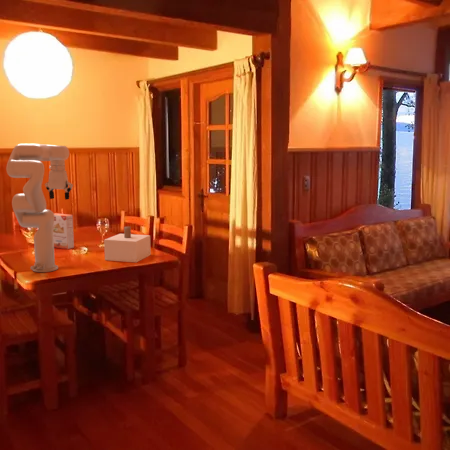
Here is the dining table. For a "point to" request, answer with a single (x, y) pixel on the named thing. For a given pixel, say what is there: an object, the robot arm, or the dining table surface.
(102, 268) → the dining table surface
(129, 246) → the cover
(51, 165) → the robot arm
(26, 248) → the dining table surface
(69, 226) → the cracker box
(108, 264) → the dining table surface
